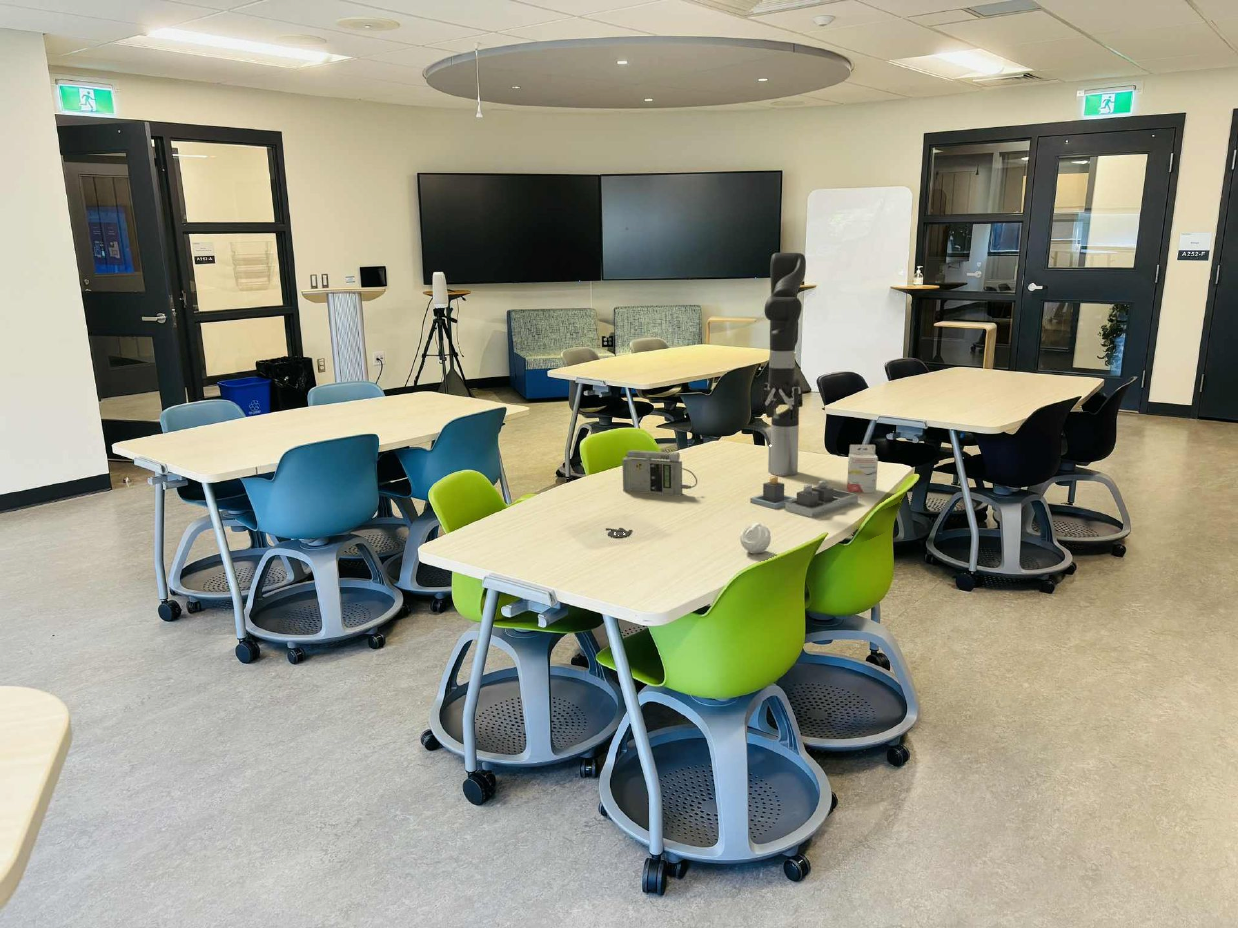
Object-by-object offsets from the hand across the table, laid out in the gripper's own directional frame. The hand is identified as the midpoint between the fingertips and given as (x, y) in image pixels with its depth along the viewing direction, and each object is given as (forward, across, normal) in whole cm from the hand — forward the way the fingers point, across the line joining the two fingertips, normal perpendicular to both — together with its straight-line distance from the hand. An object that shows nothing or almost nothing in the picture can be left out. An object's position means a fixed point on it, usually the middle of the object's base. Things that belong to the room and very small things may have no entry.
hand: (780, 419), depth 271 cm
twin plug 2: (+26, +12, +6) cm, 29 cm away
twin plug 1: (+26, +12, -1) cm, 29 cm away
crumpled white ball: (+27, +25, -38) cm, 53 cm away
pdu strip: (+26, +12, +6) cm, 29 cm away
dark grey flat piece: (+27, -15, -53) cm, 62 cm away
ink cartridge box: (+26, +8, +30) cm, 41 cm away
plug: (+26, -1, -1) cm, 26 cm away
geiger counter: (+27, -35, -17) cm, 47 cm away
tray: (+26, -1, -1) cm, 26 cm away
